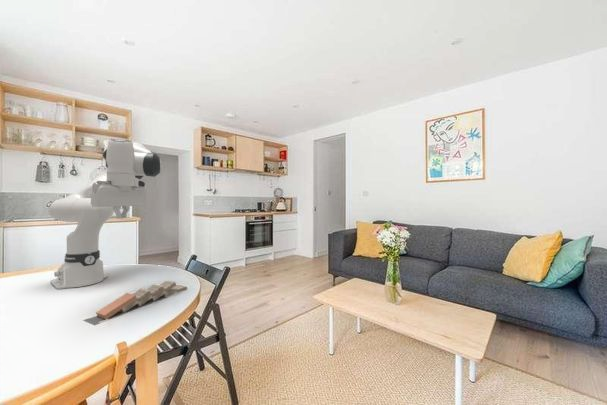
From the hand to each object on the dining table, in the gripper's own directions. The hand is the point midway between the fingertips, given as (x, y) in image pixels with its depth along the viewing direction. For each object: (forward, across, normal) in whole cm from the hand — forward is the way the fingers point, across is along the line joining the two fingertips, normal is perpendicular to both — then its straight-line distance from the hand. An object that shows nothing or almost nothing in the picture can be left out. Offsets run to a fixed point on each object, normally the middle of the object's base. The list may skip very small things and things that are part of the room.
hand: (121, 218), depth 96 cm
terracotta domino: (+30, -14, -8) cm, 34 cm away
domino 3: (+30, +1, -11) cm, 32 cm away
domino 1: (+30, -9, -9) cm, 32 cm away
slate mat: (+31, -6, -10) cm, 33 cm away
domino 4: (+30, +6, -12) cm, 33 cm away
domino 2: (+30, -4, -10) cm, 32 cm away
